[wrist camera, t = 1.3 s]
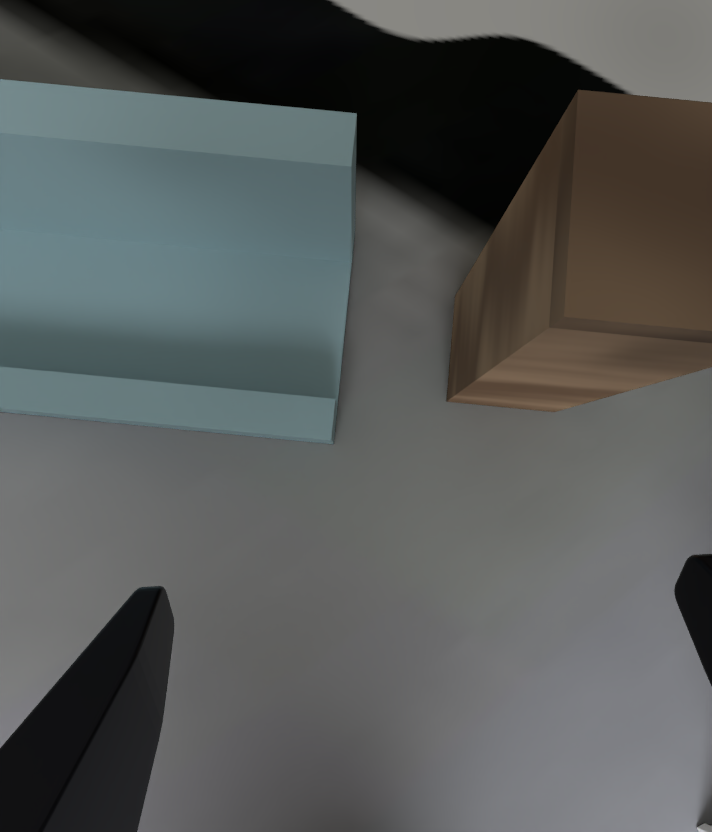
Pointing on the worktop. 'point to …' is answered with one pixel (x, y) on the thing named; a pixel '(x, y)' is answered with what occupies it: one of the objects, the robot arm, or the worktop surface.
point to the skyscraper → (704, 828)
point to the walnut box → (595, 262)
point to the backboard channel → (174, 260)
